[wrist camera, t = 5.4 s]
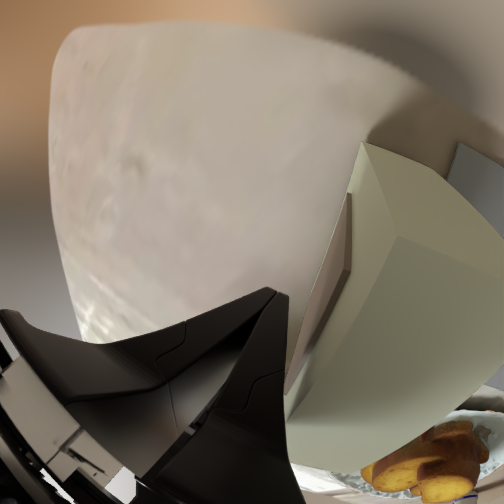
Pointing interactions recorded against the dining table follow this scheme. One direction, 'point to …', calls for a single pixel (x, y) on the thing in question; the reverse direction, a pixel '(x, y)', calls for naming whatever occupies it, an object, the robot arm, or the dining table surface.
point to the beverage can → (467, 498)
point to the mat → (481, 200)
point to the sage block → (394, 317)
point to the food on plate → (435, 461)
